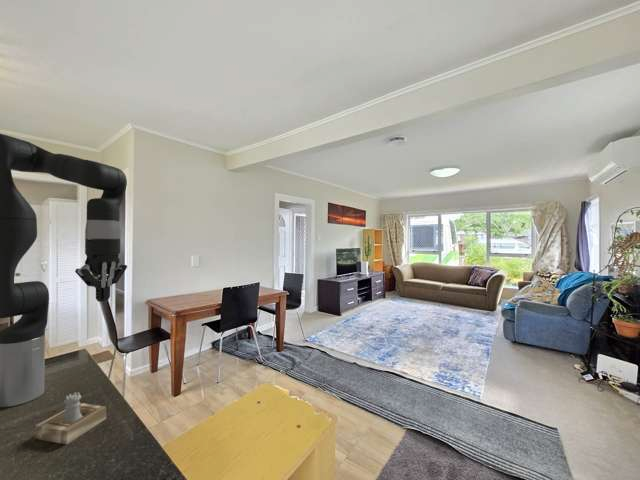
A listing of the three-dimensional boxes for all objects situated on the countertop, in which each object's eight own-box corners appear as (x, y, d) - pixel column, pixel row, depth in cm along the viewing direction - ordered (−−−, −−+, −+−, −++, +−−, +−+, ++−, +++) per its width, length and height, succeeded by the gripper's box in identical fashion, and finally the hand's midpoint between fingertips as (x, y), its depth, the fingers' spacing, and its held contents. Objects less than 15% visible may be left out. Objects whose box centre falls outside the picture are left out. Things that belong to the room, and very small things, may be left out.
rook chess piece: (63, 437, 62) (63, 402, 62) (57, 430, 65) (57, 396, 65) (87, 426, 66) (87, 393, 66) (81, 419, 68) (81, 388, 68)
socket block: (35, 438, 62) (35, 425, 62) (77, 413, 71) (77, 402, 71) (66, 444, 60) (67, 430, 60) (106, 418, 69) (106, 406, 69)
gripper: (114, 237, 81) (114, 295, 81) (65, 237, 68) (64, 306, 68) (136, 237, 79) (135, 296, 79) (89, 237, 66) (89, 307, 66)
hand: (102, 300), depth 73 cm, fingers closed
